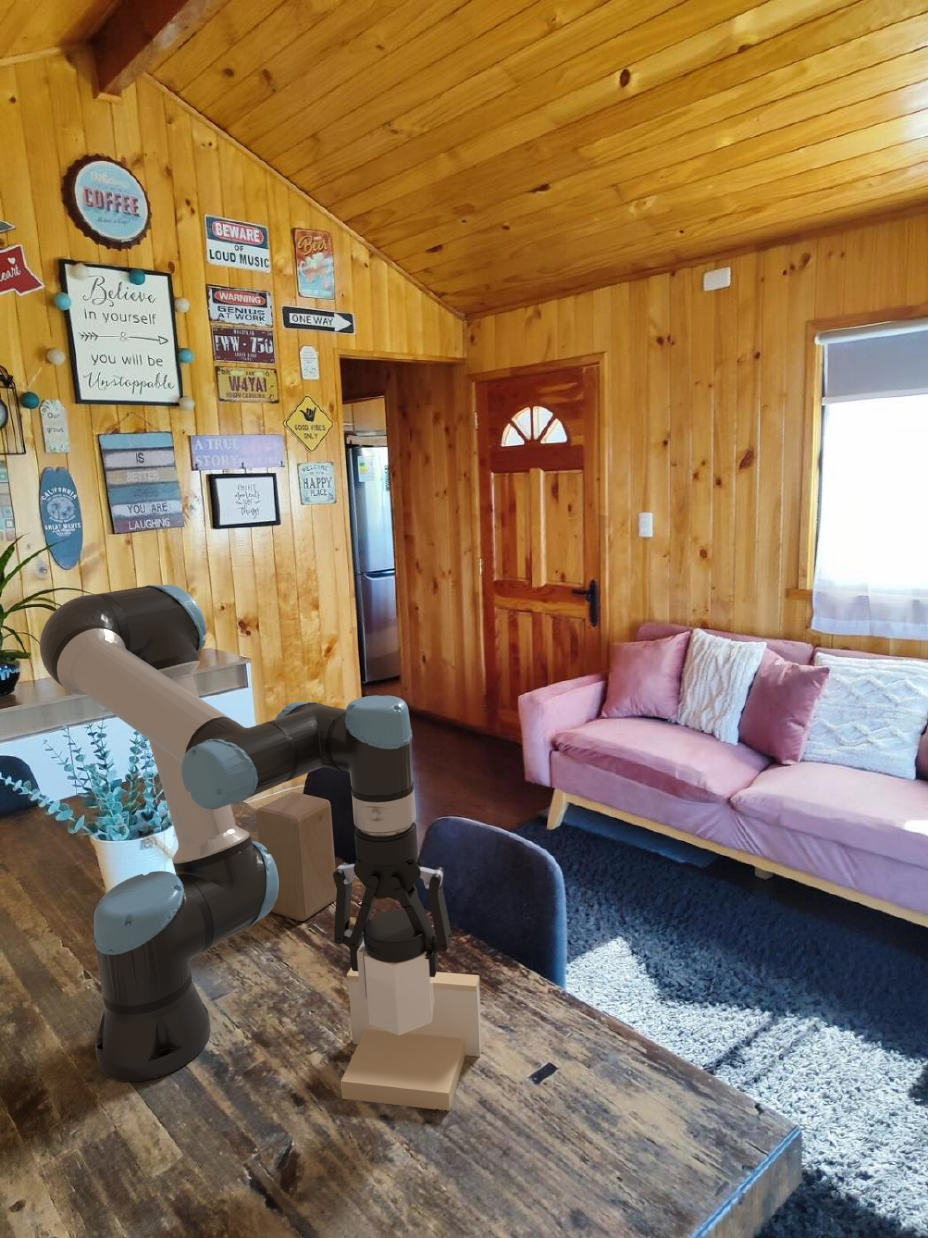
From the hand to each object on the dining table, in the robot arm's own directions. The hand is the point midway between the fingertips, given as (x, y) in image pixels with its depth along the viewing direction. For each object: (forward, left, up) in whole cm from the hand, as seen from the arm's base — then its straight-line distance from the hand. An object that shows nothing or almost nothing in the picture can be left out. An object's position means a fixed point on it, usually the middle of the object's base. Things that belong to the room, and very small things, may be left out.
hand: (396, 995), depth 103 cm
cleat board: (0, +3, -13) cm, 14 cm away
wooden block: (-31, +42, -13) cm, 54 cm away
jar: (+1, 0, -2) cm, 3 cm away
